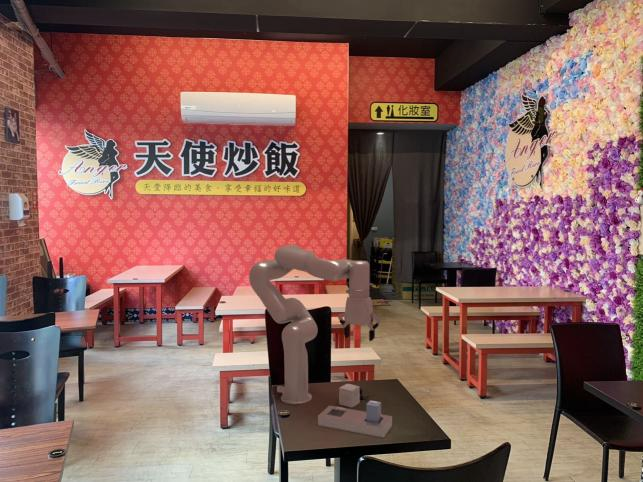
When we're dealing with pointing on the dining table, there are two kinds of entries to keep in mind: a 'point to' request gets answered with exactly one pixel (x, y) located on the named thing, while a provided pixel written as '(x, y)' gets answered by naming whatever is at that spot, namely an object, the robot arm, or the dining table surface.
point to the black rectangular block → (363, 395)
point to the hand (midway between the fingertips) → (359, 338)
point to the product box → (349, 395)
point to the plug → (373, 412)
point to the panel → (353, 421)
